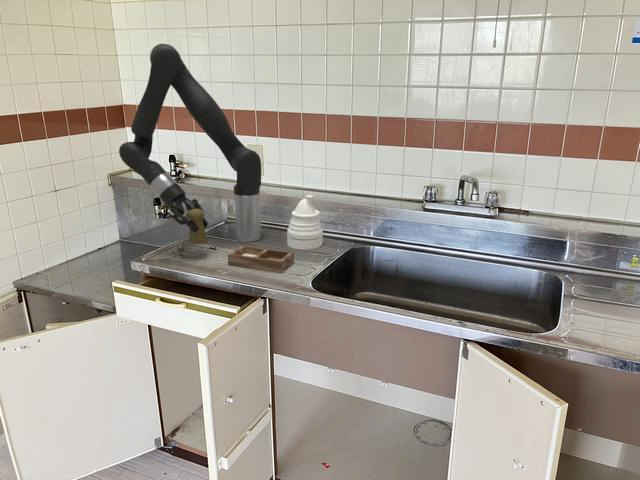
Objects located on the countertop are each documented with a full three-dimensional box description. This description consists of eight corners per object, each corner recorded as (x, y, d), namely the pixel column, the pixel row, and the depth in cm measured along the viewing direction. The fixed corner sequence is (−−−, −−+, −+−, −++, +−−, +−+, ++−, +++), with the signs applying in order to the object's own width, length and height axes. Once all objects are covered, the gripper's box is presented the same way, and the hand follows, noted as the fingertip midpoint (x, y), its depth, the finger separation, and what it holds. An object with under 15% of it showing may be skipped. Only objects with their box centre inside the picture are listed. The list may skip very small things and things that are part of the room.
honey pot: (329, 242, 187) (329, 194, 182) (309, 252, 177) (310, 201, 171) (300, 236, 194) (300, 189, 188) (280, 245, 184) (279, 196, 178)
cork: (202, 245, 167) (200, 212, 163) (185, 243, 168) (182, 211, 164) (210, 239, 172) (207, 207, 169) (193, 238, 173) (190, 206, 170)
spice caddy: (243, 255, 173) (242, 245, 172) (293, 262, 167) (293, 252, 166) (228, 264, 165) (227, 254, 163) (281, 272, 158) (281, 262, 157)
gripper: (159, 187, 160) (195, 228, 160) (186, 178, 173) (219, 216, 173) (147, 202, 163) (183, 242, 163) (174, 192, 176) (207, 229, 176)
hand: (201, 228), depth 168 cm, fingers closed on cork, 4 cm apart
